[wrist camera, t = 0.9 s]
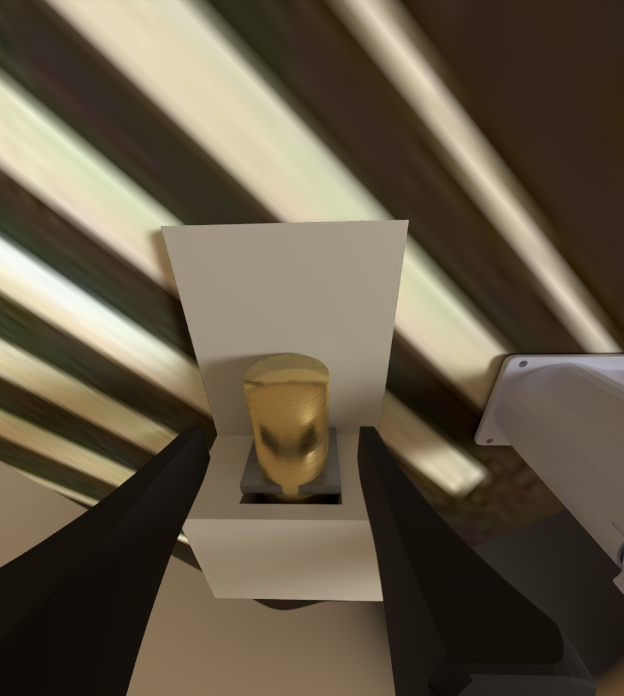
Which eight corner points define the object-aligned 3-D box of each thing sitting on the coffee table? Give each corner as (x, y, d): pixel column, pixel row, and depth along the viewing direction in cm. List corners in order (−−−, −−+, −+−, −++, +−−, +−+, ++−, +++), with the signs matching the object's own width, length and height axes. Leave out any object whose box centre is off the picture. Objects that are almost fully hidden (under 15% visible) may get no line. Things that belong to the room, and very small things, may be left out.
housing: (400, 220, 12) (483, 215, 6) (365, 500, 23) (382, 600, 17) (173, 226, 13) (37, 226, 7) (242, 499, 24) (215, 597, 17)
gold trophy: (337, 353, 14) (345, 401, 10) (333, 497, 21) (337, 560, 17) (244, 354, 15) (218, 401, 11) (268, 496, 21) (257, 559, 17)
